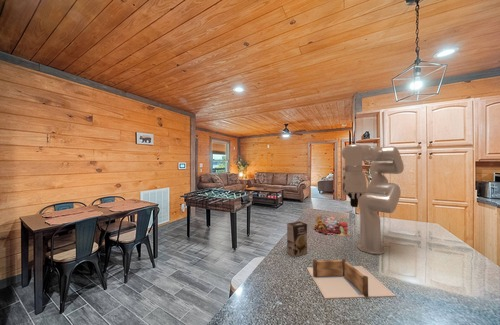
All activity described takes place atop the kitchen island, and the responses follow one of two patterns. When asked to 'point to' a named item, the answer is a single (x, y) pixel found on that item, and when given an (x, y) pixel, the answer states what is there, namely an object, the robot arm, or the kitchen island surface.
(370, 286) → the card
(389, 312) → the kitchen island surface
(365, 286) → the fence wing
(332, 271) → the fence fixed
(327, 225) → the plate of food
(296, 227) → the coffee box
